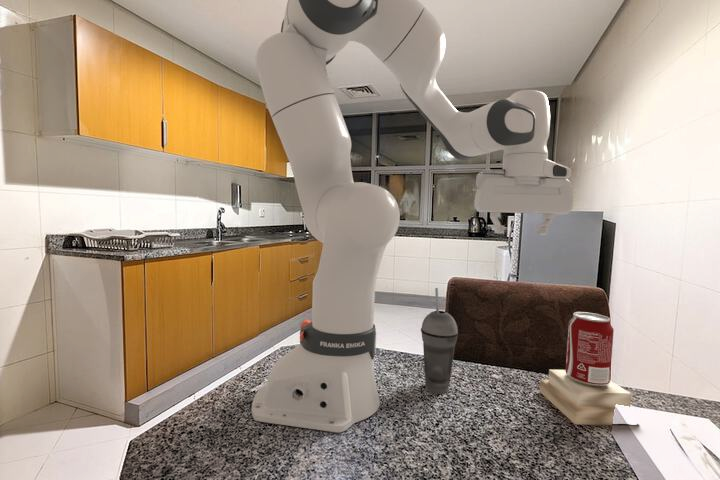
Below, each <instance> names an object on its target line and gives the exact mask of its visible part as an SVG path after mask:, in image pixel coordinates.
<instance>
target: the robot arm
mask: <svg viewBox="0 0 720 480" xmlns="http://www.w3.org/2000/svg"><path fill="white" fill-rule="evenodd" d="M349 42H354V43H359V44H361V45H363V46H365V47H366V48H368V49H369V50H370V52H372V54H373V55H374V56H375V57H376V58H377V59H379V60H380V62H382V63H383V64H384V65H385V66H386V68H388V70H390V72H391V73H392V74H393V75H394V77H395V78H396V79H397V81H398V83H399V87H400V88H401V90H402V93H403V94H404V96H405V97H406V98H407V99H408V100H409V102H410V103H411V104H412V105H413V107H414V108H415V109H416V110H417V111H418V113H419V114H420V115H421V116H422V117H423V119H425V120H426V122H428V124H429V125H430V126H431V127H432V128H433V129H434V130H435V132H436V133H437V134H438V136H439V137H440V140H441V141H442V143H443V145H444V146H445V148H446V150H447V151H448V153H449V154H450V155H451V156H452V157H453V158H455V159H458V160H460V161H468V160H472V159H473V158H477V157H479V156H482V155H487V154H490V153H494V152H497V151H503V155H502V169H490V168H485V169H483V170H481V171H480V172H478V173H477V174H476V176H475V177H476V178H475V186H476V192H475V196H474V202H473V204H474V205H473V206H474V207H473V208H474V209H475V211H476V212H481V213H489V218H490V220H491V222H492V223H493V226H494V230H493V231H494V234H502V235H503V234H504V233H505V224H504V225H502V224H501V222H500V220H499V218H500V217H501V213H505V214H507V213H510V214H512V213H513V214H542V217H541V218H542V220H543V222H541V223H542V224H541V225H540V226H536V230H537V231H536V234H537V235H541V236H547V235H548V234H549V233H548V231H549V227H550V225H551V224H552V223H553V222H554V220H555V215H568V214H570V212H571V211H572V210H573V203H574V200H573V199H574V198H573V197H574V194H573V193H574V192H573V191H574V190H573V189H574V188H573V184H572V183H571V181H570V180H569V178H571V177H572V169H571V168H570V167H568V166H566V165H563V164H560V163H557V162H555V161H552V160H550V159H549V151H548V147H547V144H548V140H549V137H550V130H551V129H550V128H551V111H550V110H551V109H550V105H549V99H548V97H547V94H545V93H544V92H543V91H540V90H537V89H522V90H517V91H515V92H513V93H512V94H511V95H510V96H509V97H507V98H505V99H498V100H495V101H492V102H490V103H488V104H484V105H482V106H480V107H479V108H476V109H474V110H472V111H469V112H464V111H463V112H462V111H459V110H457V108H456V107H455V106H454V105H453V104H452V103H451V101H450V99H449V98H448V97H447V96H446V95H445V94H444V93H443V91H442V90H441V89H440V87H439V85H438V83H437V77H436V76H437V73H438V71H439V68H440V67H441V65H442V62H443V60H444V58H445V53H446V35H445V31H444V30H443V28H442V26H441V24H440V22H439V21H438V20H437V19H436V17H435V16H434V15H433V14H432V13H431V12H430V11H429V10H428V9H427V8H426V7H425V6H424V5H423V4H422V3H421V2H420V1H419V0H287V3H286V7H285V13H284V17H283V20H282V23H281V28H280V32H277V33H275V34H273V35H271V36H269V37H268V38H266V39H265V40H263V42H262V43H261V44H260V45H259V47H258V49H257V51H256V55H255V65H256V71H257V76H258V79H259V84H260V87H261V90H262V94H263V98H264V100H265V103H266V107H267V110H268V112H269V114H270V117H271V119H272V122H273V124H274V127H275V130H276V133H277V135H278V137H279V139H280V142H281V144H282V148H283V150H284V152H285V154H286V156H287V160H288V162H289V166H290V168H291V171H292V175H293V179H294V183H295V188H296V192H297V195H298V199H299V202H300V205H301V209H302V212H303V219H304V220H303V221H304V223H305V224H304V225H305V227H306V229H307V230H308V232H309V233H310V234H311V236H312V237H314V238H315V239H316V240H317V241H318V242H320V243H322V248H321V249H322V250H321V255H320V257H319V258H320V259H319V264H318V269H317V271H316V274H315V276H314V278H313V281H312V300H311V305H312V306H311V320H310V319H309V318H308V319H306V318H305V319H304V320H303V321H302V322H301V323H300V330H299V344H298V345H297V346H295V347H294V348H292V349H290V351H289V350H288V352H287V353H285V354H283V356H281V357H280V358H278V360H277V361H276V362H275V363H274V364H273V366H272V368H271V369H270V371H269V374H268V377H267V380H266V382H265V383H263V384H262V386H261V387H260V388H259V389H258V390H257V392H256V393H255V395H254V397H253V400H252V403H251V410H250V411H251V412H250V413H251V415H252V418H253V420H254V421H256V422H260V423H262V422H263V423H268V424H273V425H281V426H290V427H297V428H304V429H311V430H317V431H324V432H330V433H342V432H345V431H347V430H348V429H349V428H351V426H352V425H354V424H355V423H358V422H360V421H364V420H366V419H367V418H369V417H371V416H373V415H374V414H375V413H376V412H377V411H378V409H379V407H380V405H381V401H380V400H381V399H380V396H379V393H378V388H377V381H376V374H375V365H374V363H375V361H374V359H375V355H376V349H377V347H376V346H377V331H376V330H377V329H376V325H375V323H374V320H375V319H374V318H375V317H374V316H375V297H376V295H375V294H376V285H377V284H376V283H377V278H378V274H379V270H380V267H381V266H380V265H381V263H382V259H383V255H384V253H385V250H386V248H387V245H388V244H389V243H390V241H391V240H392V239H394V237H395V235H396V233H397V232H398V230H399V227H400V220H401V213H400V208H399V204H398V201H397V200H396V198H395V197H394V196H393V194H391V192H390V191H388V190H387V189H385V188H383V186H382V187H381V186H379V185H377V184H373V183H369V182H368V183H367V182H365V181H363V182H362V181H361V182H360V181H359V182H358V181H356V182H355V181H354V177H353V172H352V171H353V170H352V163H351V151H352V139H351V135H350V133H349V130H348V127H347V124H346V122H345V121H346V120H345V119H344V116H343V113H342V111H341V108H340V105H339V101H338V99H337V96H336V94H335V91H334V88H333V86H332V83H331V81H330V79H329V76H328V71H327V65H329V64H330V63H332V61H333V60H334V59H335V57H336V56H337V55H338V53H339V52H341V50H342V49H344V48H345V47H346V46H347V45H348V44H349Z"/></svg>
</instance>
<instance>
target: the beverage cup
mask: <svg viewBox="0 0 720 480" xmlns="http://www.w3.org/2000/svg"><path fill="white" fill-rule="evenodd" d="M434 292H435V310H433V311H431V312H429V313H428V314H427V315H426V316H425V317H424V319H423V320H422V323H421V328H420V332H421V340H422V342H423V343H422V345H423V346H422V347H423V348H422V349H423V365H424V366H423V368H424V370H423V371H424V382H425V384H424V385H425V389H426V390H427V392H430V393H432V394H438V395H439V394H442V395H443V394H446V393H448V392H449V387H450V383H451V375H452V370H453V362H454V355H455V348H456V344H457V340H458V335H459V332H458V331H459V330H458V325H457V322H456V320H455V319H454V317H453V316H452V315H451V314H450V313H448V312H446V311H444V310H440V307H439V306H440V305H439V303H440V302H439V288H438V287H435V289H434Z"/></svg>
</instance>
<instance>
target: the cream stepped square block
mask: <svg viewBox="0 0 720 480" xmlns="http://www.w3.org/2000/svg"><path fill="white" fill-rule="evenodd" d="M539 393H540V394H542V395H543V396H544V397H545V399H547V400H548V401H549V402H551V404H552V405H554V407H556V408H557V409H558V410H559V411H560V412H561V414H563V415H564V416H566V417H567V418H568V419H569V420H570V421H571V422H572V423H573V424H574V425H597V426H613V425H612V424H613V416H614V409H615V405H616V404H618V405H624V406H629V407H635V406H634V405H632V404H631V403H632V402H631V399H632V393H631V392H630V391H628V390H627V389H625V388H623V387H621V386H620V385H619V384H617V383H615V382H613V381H612V380H610V383H609V384H608V385H606V386H602V387H590V386H586V385H582V384H580V383H577V382H575V381H574V380H572V378H570V377H569V376H567V374H566V369H550V368H549V369H548V379H540V381H539Z"/></svg>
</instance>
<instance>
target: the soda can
mask: <svg viewBox="0 0 720 480" xmlns="http://www.w3.org/2000/svg"><path fill="white" fill-rule="evenodd" d="M572 314H573V316H572V318H571V319H570V320H569V321H568V329H567V331H568V332H567V345H566V360H565V370H566V374H567V376H569V377H570V378H572V380H574V381H575V382H577V383H580V384H582V385H586V386H590V387H602V386H606V385H608V384H609V383H610V381H611V371H612V359H613V358H612V357H613V342H614V328H613V326H612V324H611V323H610V319H611V318H610V317H608V316H606V315H603V314H599V313H593V312H588V311H587V312H586V311H576V312H573V313H572Z"/></svg>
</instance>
